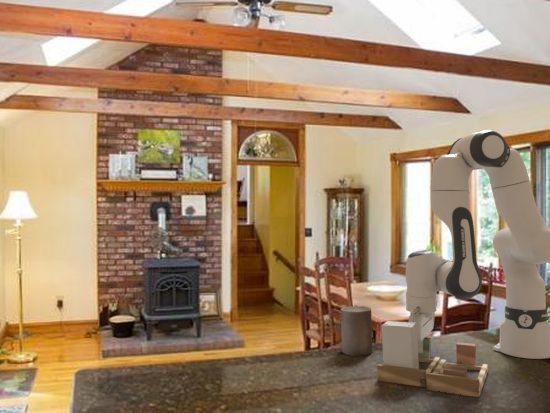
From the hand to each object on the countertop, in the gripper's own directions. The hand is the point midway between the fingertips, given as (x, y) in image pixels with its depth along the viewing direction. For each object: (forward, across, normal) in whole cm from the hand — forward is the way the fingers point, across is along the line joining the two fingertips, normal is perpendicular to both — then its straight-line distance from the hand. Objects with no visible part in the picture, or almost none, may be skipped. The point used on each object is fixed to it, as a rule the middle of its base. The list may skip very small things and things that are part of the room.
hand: (421, 350), depth 160 cm
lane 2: (+2, -14, -13) cm, 19 cm away
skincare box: (+2, -22, +1) cm, 22 cm away
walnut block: (+2, -23, -13) cm, 26 cm away
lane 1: (+2, -12, 0) cm, 13 cm away
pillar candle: (+2, -1, +20) cm, 20 cm away
